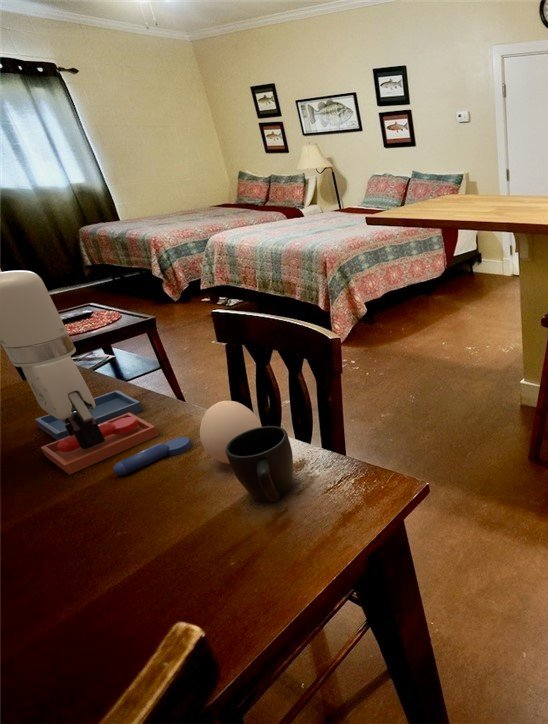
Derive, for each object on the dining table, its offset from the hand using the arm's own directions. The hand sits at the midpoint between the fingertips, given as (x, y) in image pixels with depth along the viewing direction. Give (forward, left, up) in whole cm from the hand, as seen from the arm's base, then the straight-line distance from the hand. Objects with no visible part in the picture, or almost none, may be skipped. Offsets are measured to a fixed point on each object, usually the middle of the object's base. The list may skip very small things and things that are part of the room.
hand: (89, 441), depth 84 cm
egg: (+11, -26, -2) cm, 28 cm away
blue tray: (+4, +13, -2) cm, 14 cm away
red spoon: (+2, 0, 0) cm, 2 cm away
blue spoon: (+4, -13, -2) cm, 14 cm away
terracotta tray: (+1, 0, -2) cm, 2 cm away
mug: (+8, -40, -2) cm, 41 cm away
